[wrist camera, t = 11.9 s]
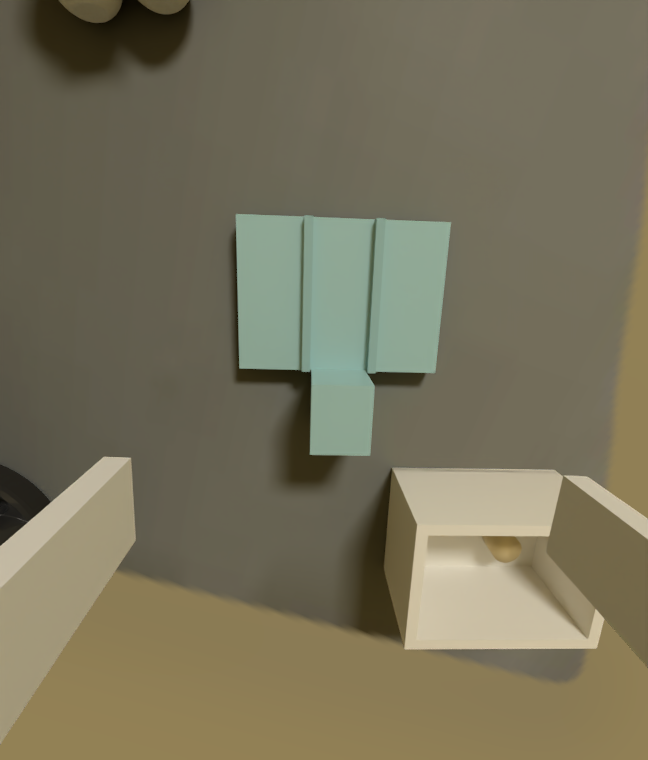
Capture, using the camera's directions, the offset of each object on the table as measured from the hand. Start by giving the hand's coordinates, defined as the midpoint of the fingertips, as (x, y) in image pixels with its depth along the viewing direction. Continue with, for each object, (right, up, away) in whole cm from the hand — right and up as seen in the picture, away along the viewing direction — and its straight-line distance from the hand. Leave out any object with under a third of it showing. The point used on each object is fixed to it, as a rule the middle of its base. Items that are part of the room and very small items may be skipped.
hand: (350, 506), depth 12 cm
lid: (0, +8, +18) cm, 20 cm away
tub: (+12, -9, +23) cm, 27 cm away
